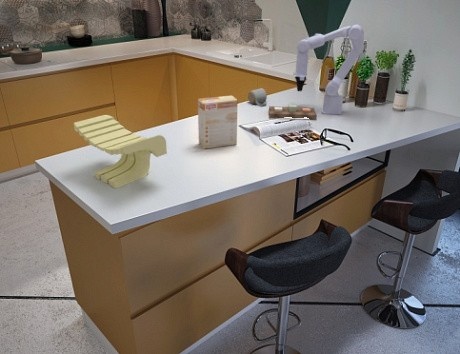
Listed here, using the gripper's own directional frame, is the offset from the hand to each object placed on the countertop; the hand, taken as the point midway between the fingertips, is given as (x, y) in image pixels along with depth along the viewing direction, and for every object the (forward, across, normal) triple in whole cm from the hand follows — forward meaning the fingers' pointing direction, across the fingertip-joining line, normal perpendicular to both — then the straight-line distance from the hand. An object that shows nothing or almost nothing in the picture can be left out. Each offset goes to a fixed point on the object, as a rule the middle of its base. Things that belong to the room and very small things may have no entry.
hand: (299, 90), depth 224 cm
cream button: (+9, +12, -11) cm, 19 cm away
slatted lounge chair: (+10, +87, -69) cm, 111 cm away
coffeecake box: (+10, +54, -38) cm, 67 cm away
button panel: (+9, +12, -4) cm, 16 cm away
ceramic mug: (+10, -6, -21) cm, 24 cm away
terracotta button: (+9, +12, +3) cm, 15 cm away
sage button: (+7, +12, -4) cm, 15 cm away
